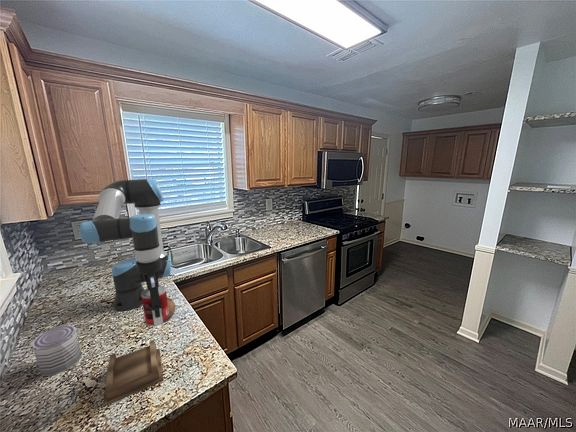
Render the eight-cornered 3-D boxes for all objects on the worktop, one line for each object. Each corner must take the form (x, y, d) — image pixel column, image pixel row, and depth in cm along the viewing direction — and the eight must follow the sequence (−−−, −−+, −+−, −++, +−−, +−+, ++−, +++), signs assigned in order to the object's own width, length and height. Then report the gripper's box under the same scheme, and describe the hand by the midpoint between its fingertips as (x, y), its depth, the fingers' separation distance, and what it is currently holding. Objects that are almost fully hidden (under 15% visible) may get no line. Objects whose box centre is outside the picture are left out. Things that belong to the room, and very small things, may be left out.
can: (87, 347, 92) (81, 321, 90) (74, 370, 82) (66, 340, 80) (50, 356, 88) (42, 329, 86) (31, 381, 78) (22, 351, 75)
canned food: (163, 309, 90) (159, 283, 88) (173, 317, 85) (169, 289, 83) (141, 319, 84) (137, 291, 82) (151, 328, 79) (146, 299, 77)
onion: (170, 317, 115) (174, 296, 118) (175, 321, 108) (179, 298, 111) (148, 318, 109) (153, 296, 112) (153, 322, 102) (158, 298, 105)
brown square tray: (108, 368, 82) (105, 354, 81) (159, 349, 91) (157, 336, 89) (103, 406, 69) (99, 390, 68) (163, 380, 77) (161, 365, 76)
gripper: (134, 252, 86) (143, 307, 91) (136, 272, 69) (147, 338, 74) (157, 248, 90) (165, 301, 95) (164, 266, 73) (173, 329, 78)
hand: (157, 317), depth 84 cm, fingers closed on canned food, 8 cm apart
